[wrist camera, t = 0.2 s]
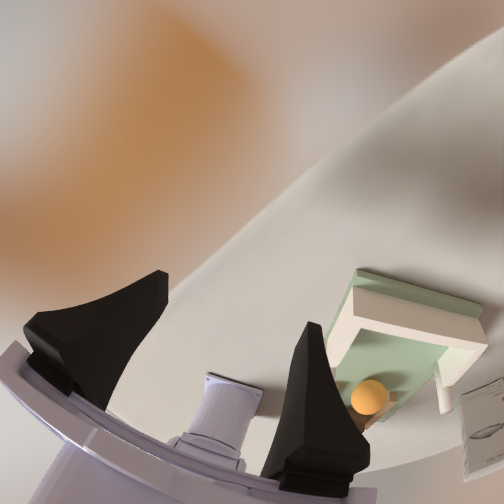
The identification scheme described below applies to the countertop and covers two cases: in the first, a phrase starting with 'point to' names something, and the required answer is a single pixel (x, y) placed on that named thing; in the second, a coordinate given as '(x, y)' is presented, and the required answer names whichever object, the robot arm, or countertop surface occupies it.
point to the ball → (368, 397)
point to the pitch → (401, 341)
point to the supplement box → (483, 430)
